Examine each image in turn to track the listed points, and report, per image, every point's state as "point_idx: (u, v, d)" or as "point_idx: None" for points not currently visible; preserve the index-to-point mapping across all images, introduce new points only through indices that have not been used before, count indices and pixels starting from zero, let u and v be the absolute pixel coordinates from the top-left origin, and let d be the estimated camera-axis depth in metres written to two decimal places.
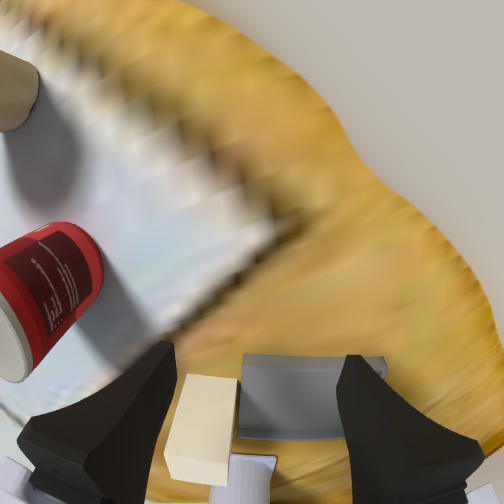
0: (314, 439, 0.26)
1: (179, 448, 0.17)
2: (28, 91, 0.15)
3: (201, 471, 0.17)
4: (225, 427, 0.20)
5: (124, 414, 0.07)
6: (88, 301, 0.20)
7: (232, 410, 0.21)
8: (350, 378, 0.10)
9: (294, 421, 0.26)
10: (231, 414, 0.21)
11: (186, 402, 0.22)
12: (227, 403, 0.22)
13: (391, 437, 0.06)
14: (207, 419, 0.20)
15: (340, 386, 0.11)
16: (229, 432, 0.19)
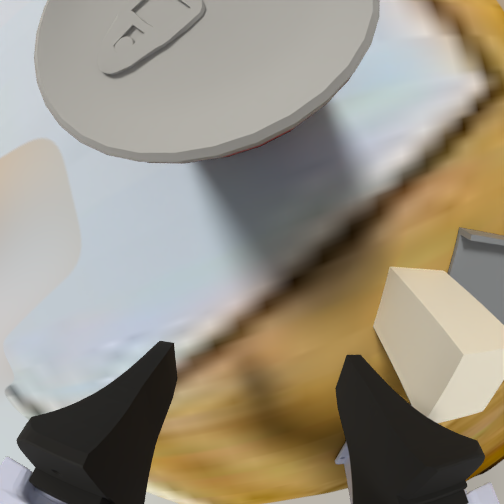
0: None
1: (471, 342, 0.10)
2: None
3: (483, 381, 0.10)
4: (485, 312, 0.12)
5: (124, 414, 0.07)
6: None
7: (471, 296, 0.14)
8: (350, 378, 0.10)
9: None
10: (475, 299, 0.13)
11: (422, 293, 0.14)
12: (460, 290, 0.14)
13: (391, 437, 0.06)
14: (461, 306, 0.13)
15: (340, 386, 0.11)
16: (492, 315, 0.12)
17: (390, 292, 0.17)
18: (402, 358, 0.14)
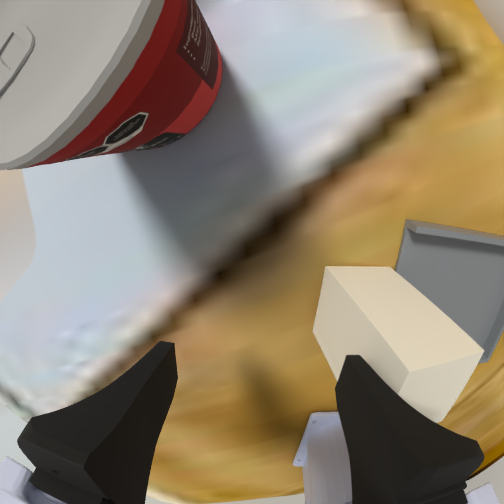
0: None
1: (419, 354, 0.09)
2: None
3: (438, 393, 0.09)
4: (437, 313, 0.12)
5: (125, 414, 0.07)
6: (204, 100, 0.12)
7: (422, 295, 0.14)
8: (350, 378, 0.10)
9: None
10: (426, 298, 0.13)
11: (362, 295, 0.14)
12: (408, 288, 0.14)
13: (390, 437, 0.06)
14: (409, 309, 0.12)
15: (340, 386, 0.11)
16: (446, 317, 0.12)
17: (327, 294, 0.16)
18: None
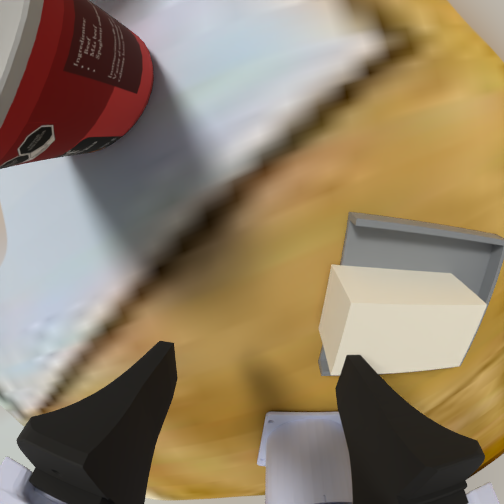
0: None
1: (470, 296, 0.14)
2: None
3: None
4: (416, 273, 0.17)
5: (124, 414, 0.07)
6: (128, 104, 0.12)
7: (389, 269, 0.17)
8: (350, 378, 0.10)
9: None
10: (396, 269, 0.17)
11: (410, 298, 0.13)
12: (381, 271, 0.17)
13: (391, 437, 0.06)
14: (419, 283, 0.15)
15: (340, 386, 0.11)
16: (419, 272, 0.17)
17: (364, 326, 0.13)
18: (414, 358, 0.14)
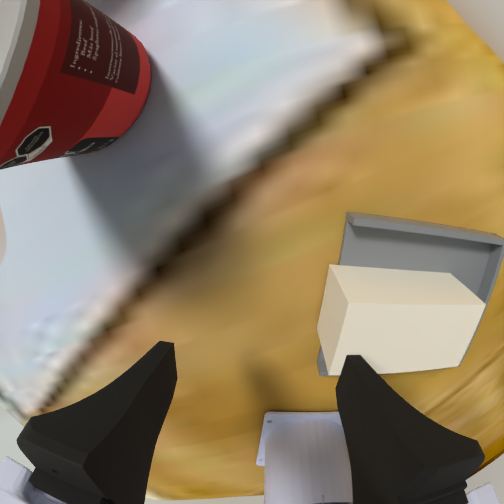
0: None
1: (469, 296, 0.14)
2: None
3: None
4: (415, 273, 0.17)
5: (124, 414, 0.07)
6: (125, 105, 0.12)
7: (387, 269, 0.17)
8: (350, 378, 0.10)
9: None
10: (394, 269, 0.17)
11: (408, 298, 0.14)
12: (379, 271, 0.17)
13: (391, 437, 0.06)
14: (417, 283, 0.15)
15: (340, 386, 0.11)
16: (418, 271, 0.17)
17: (362, 326, 0.13)
18: (413, 358, 0.14)
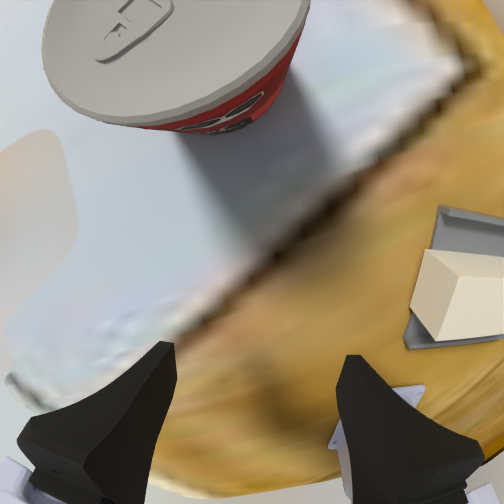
0: (479, 340, 0.19)
1: None
2: None
3: None
4: (482, 256, 0.18)
5: (124, 414, 0.07)
6: (278, 91, 0.13)
7: (463, 253, 0.18)
8: (350, 378, 0.10)
9: None
10: (468, 253, 0.18)
11: (490, 273, 0.14)
12: (460, 254, 0.18)
13: (391, 437, 0.06)
14: (488, 263, 0.16)
15: (340, 386, 0.11)
16: (483, 255, 0.18)
17: (464, 296, 0.14)
18: (490, 323, 0.15)
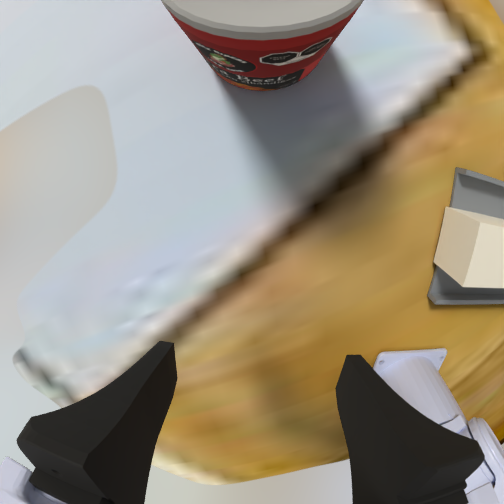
0: (496, 301, 0.20)
1: None
2: None
3: None
4: (495, 218, 0.18)
5: (124, 414, 0.07)
6: None
7: None
8: (350, 378, 0.10)
9: None
10: None
11: None
12: (476, 213, 0.18)
13: (391, 437, 0.06)
14: (501, 221, 0.17)
15: (340, 386, 0.11)
16: None
17: (485, 243, 0.15)
18: None
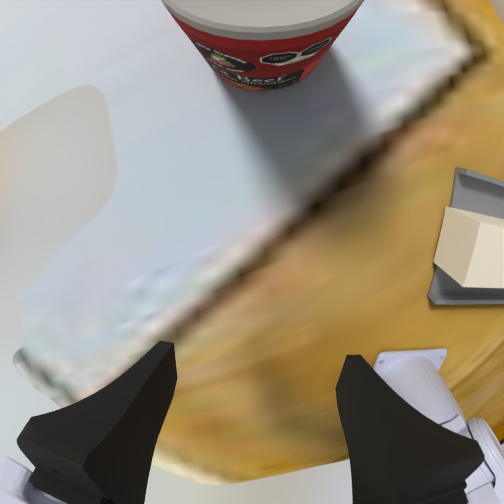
0: (496, 301, 0.20)
1: None
2: None
3: None
4: (495, 218, 0.18)
5: (124, 414, 0.07)
6: None
7: None
8: (350, 378, 0.10)
9: None
10: None
11: None
12: (476, 213, 0.18)
13: (391, 437, 0.06)
14: (501, 221, 0.17)
15: (340, 386, 0.11)
16: None
17: (485, 243, 0.15)
18: None
